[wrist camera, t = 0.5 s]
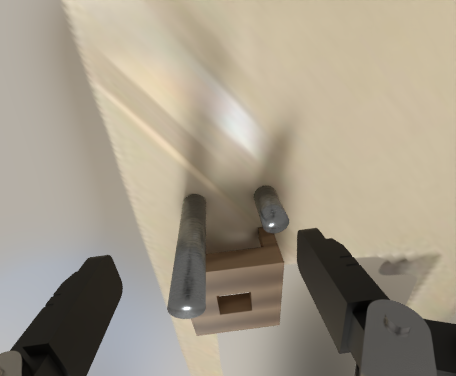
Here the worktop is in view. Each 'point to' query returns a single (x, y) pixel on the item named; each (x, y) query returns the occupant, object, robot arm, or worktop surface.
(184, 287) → the long pin
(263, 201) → the short pin
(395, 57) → the worktop surface
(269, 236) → the wooden square-hole block
